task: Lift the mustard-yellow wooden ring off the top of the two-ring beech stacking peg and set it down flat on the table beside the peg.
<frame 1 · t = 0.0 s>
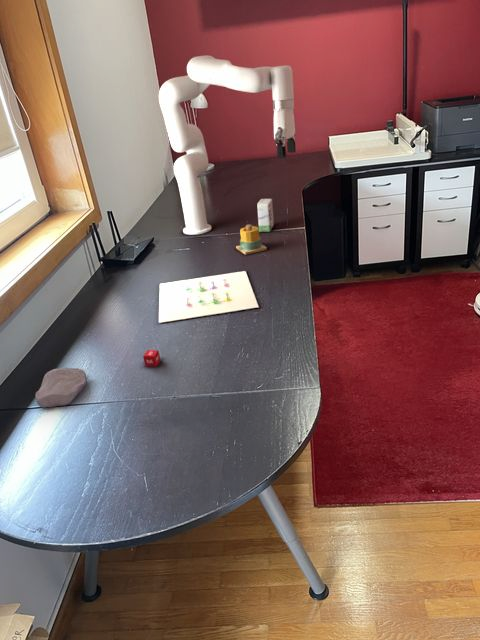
hand: (286, 155, 191), 31 cm above the table, tool pointing down, fingers open, 9 cm apart
printed paper: (206, 296, 164), on the table
stone block: (66, 393, 122), on the table
stacking peg: (251, 249, 197), on the table
dice: (153, 363, 130), on the table
ring: (250, 239, 195), point 4 cm above the table, touching stacking peg
ink box: (266, 229, 218), on the table
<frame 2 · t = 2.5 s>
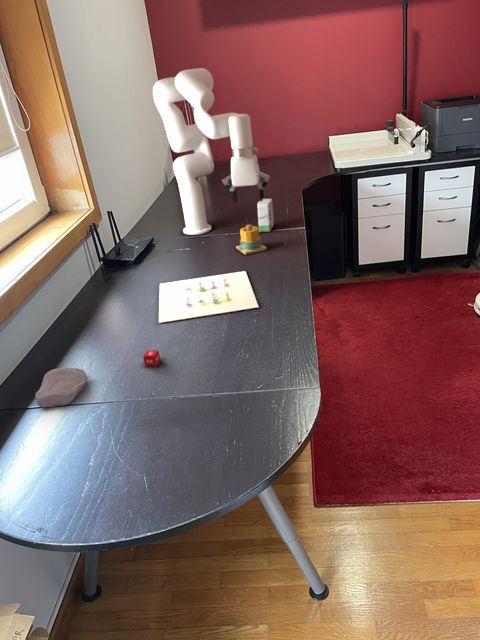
hand: (248, 201, 188), 18 cm above the table, tool pointing down, fingers open, 9 cm apart
nothing on the table moved.
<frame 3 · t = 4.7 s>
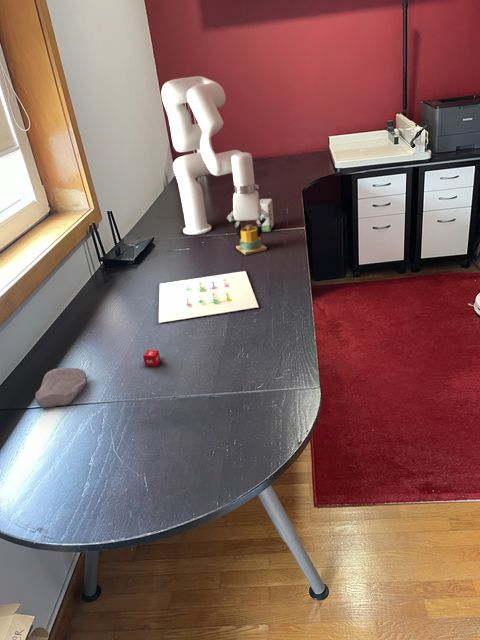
hand: (250, 235, 194), 5 cm above the table, tool pointing down, fingers closed on ring, 6 cm apart
ring: (250, 239, 195), point 4 cm above the table, touching gripper, stacking peg
everything else where it was.
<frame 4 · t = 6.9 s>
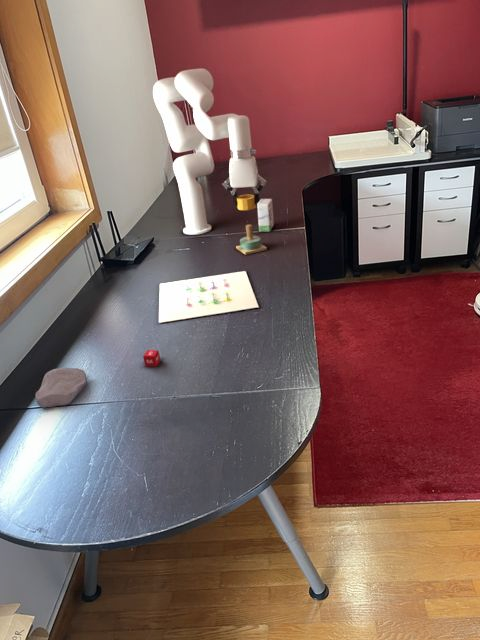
hand: (246, 203, 189), 17 cm above the table, tool pointing down, fingers closed on ring, 6 cm apart
ring: (246, 207, 189), point 16 cm above the table, touching gripper
everything else where it was.
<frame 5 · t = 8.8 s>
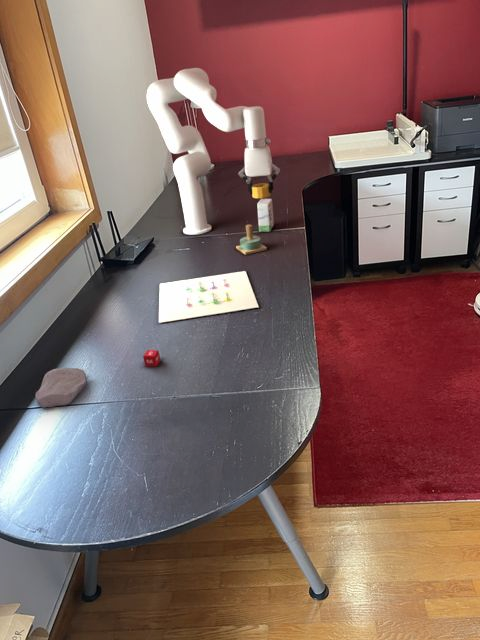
hand: (261, 192, 195), 19 cm above the table, tool pointing down, fingers closed on ring, 6 cm apart
ring: (261, 196, 196), point 18 cm above the table, touching gripper
everything else where it was.
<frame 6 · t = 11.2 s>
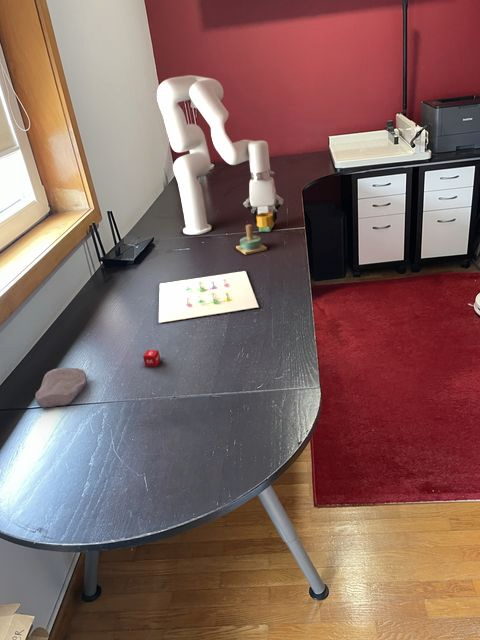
hand: (265, 221, 202), 7 cm above the table, tool pointing down, fingers closed on ring, 6 cm apart
ring: (265, 224, 203), point 6 cm above the table, touching gripper
everything else where it was.
when the fingers open (1 cm above the table, at t = 13.2 s): ring stays where it is, on the table.
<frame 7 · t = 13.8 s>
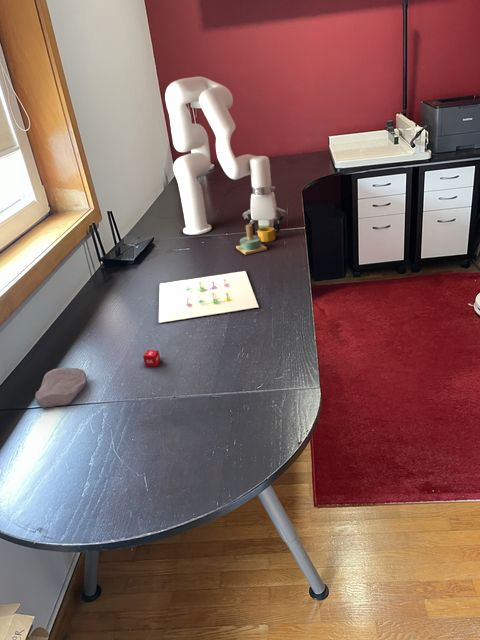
hand: (265, 233, 205), 2 cm above the table, tool pointing down, fingers open, 9 cm apart
ring: (266, 238, 206), on the table
everything else where it was.
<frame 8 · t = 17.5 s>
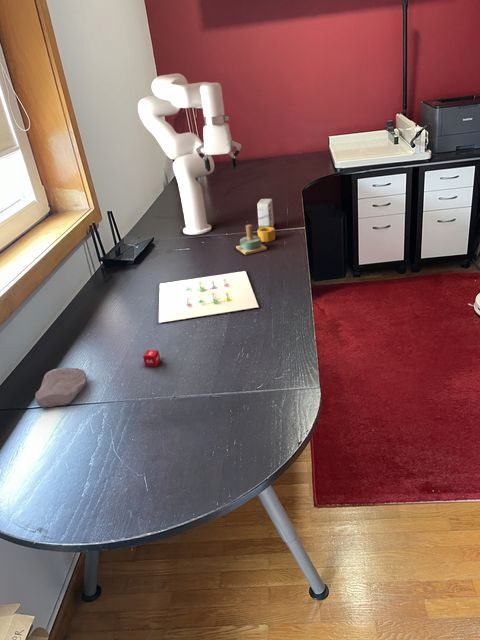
hand: (221, 170, 193), 28 cm above the table, tool pointing down, fingers open, 9 cm apart
nothing on the table moved.
at the end: ring inside the target area (0.2 cm from its centre), on the table; ring tilted 0°; the gripper is holding nothing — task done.
